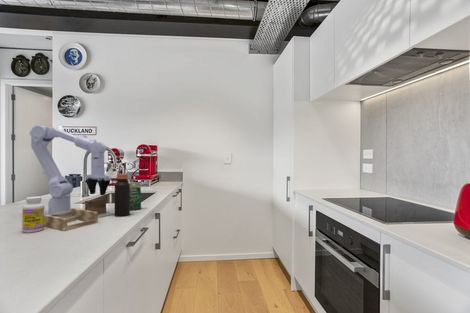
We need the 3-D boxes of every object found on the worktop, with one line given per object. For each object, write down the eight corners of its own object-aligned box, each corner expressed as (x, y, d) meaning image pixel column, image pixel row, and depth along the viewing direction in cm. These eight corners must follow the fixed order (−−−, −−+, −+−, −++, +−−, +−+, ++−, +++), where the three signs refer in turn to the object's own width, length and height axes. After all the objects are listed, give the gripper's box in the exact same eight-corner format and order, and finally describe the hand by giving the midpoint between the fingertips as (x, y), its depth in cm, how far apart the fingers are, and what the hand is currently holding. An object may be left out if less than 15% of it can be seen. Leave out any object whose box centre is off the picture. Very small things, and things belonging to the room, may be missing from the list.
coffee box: (125, 211, 134) (125, 186, 134) (124, 210, 137) (124, 185, 137) (141, 209, 138) (141, 185, 138) (139, 208, 141) (140, 184, 141)
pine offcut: (47, 225, 108) (47, 220, 108) (68, 220, 116) (68, 215, 116) (55, 227, 106) (55, 221, 106) (75, 221, 114) (75, 216, 114)
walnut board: (84, 215, 122) (85, 201, 122) (102, 212, 130) (102, 198, 130) (88, 216, 120) (89, 201, 120) (106, 212, 128) (106, 198, 128)
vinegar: (124, 217, 121) (124, 174, 121) (111, 216, 123) (111, 174, 123) (132, 213, 128) (132, 173, 128) (120, 213, 129) (120, 173, 129)
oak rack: (38, 225, 107) (38, 214, 107) (72, 217, 119) (72, 208, 119) (64, 231, 99) (64, 219, 99) (97, 222, 112) (97, 212, 112)
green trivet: (76, 216, 122) (76, 215, 122) (99, 211, 133) (99, 210, 133) (92, 219, 117) (92, 218, 117) (115, 214, 128) (115, 213, 128)
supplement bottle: (20, 234, 95) (20, 199, 95) (24, 229, 101) (25, 196, 101) (42, 231, 98) (42, 198, 98) (45, 227, 104) (45, 195, 104)
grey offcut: (51, 220, 108) (51, 214, 108) (63, 216, 115) (63, 210, 115) (59, 220, 107) (59, 214, 107) (72, 216, 114) (72, 211, 114)
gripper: (114, 166, 126) (114, 194, 126) (95, 166, 133) (95, 192, 133) (101, 167, 120) (101, 196, 120) (82, 166, 126) (82, 194, 127)
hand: (97, 194), depth 126 cm, fingers open, 7 cm apart
